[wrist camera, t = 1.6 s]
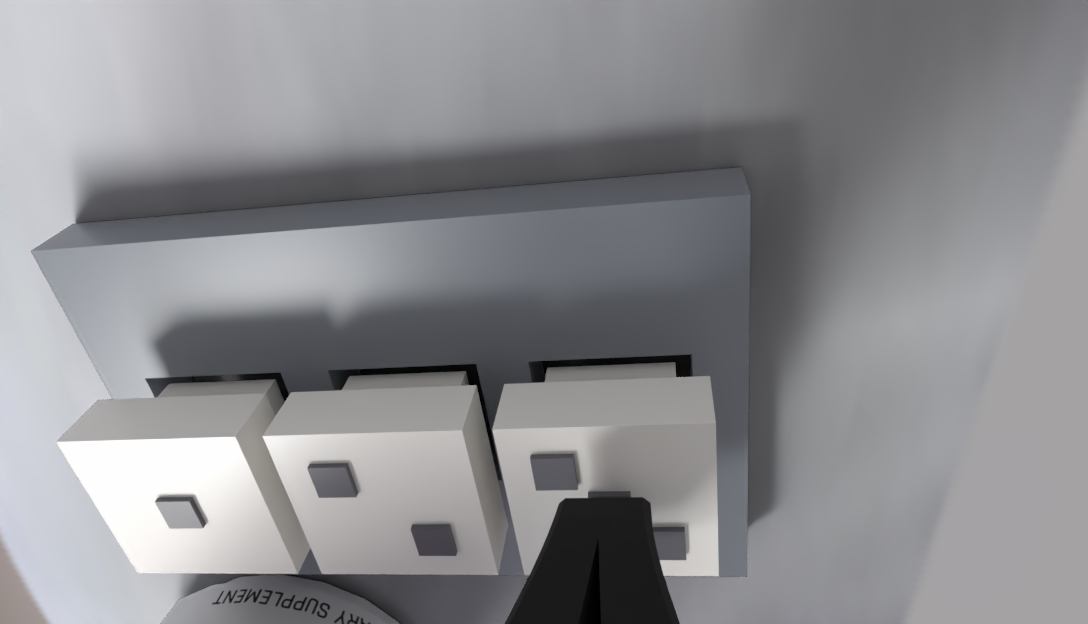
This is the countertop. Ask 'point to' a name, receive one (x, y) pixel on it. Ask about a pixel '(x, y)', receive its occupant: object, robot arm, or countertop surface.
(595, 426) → the tile three
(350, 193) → the countertop surface
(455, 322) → the keypad
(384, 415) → the tile two
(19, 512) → the countertop surface
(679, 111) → the countertop surface
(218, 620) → the supplement can
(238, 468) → the tile one
